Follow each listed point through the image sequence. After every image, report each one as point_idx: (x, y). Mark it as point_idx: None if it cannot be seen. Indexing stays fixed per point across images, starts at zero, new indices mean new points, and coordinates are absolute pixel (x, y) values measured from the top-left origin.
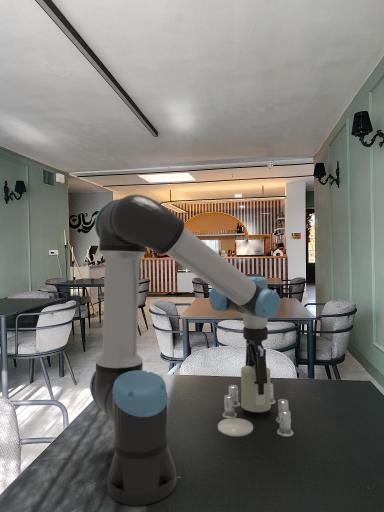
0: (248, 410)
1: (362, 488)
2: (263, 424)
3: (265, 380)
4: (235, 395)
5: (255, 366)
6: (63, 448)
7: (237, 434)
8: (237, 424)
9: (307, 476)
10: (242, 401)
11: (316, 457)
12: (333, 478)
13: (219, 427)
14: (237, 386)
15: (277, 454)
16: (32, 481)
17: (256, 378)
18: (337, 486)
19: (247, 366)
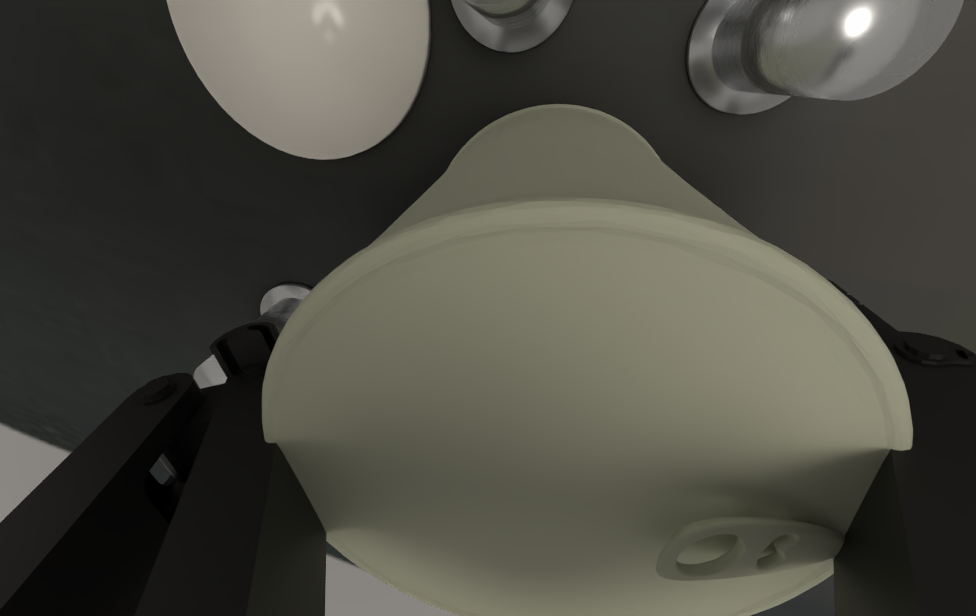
0: (454, 160)
1: (38, 417)
2: (381, 232)
3: (174, 473)
4: (750, 58)
5: (155, 604)
6: None
7: (173, 22)
8: (319, 38)
9: (5, 301)
10: (520, 120)
11: (144, 367)
12: (43, 370)
13: None
14: (838, 96)
15: (96, 233)
16: None
17: (256, 396)
18: (7, 365)
19: (843, 416)
